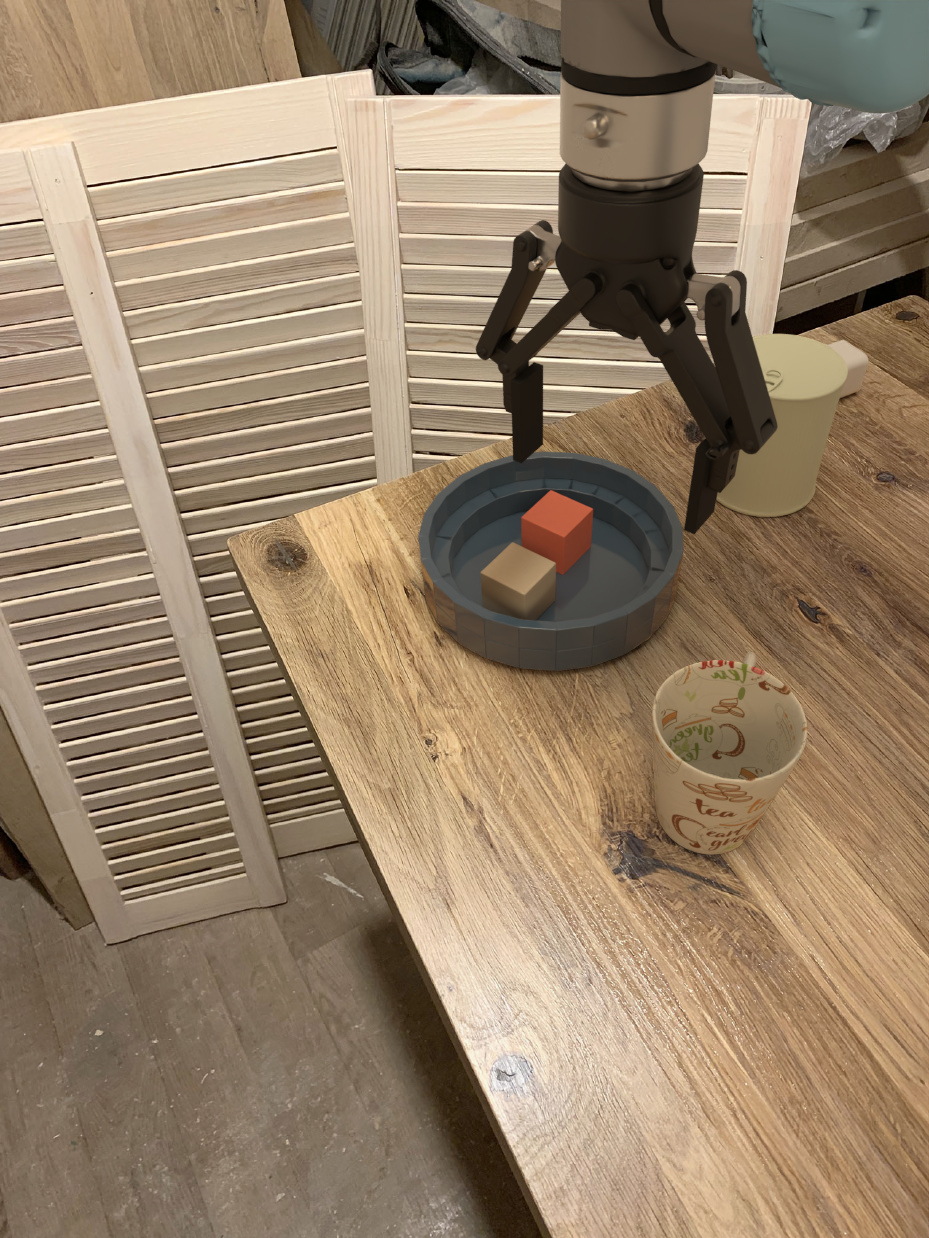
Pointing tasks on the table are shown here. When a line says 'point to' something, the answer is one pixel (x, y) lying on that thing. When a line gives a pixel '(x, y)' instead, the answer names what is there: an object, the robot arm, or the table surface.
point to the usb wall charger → (851, 366)
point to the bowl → (584, 595)
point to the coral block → (558, 529)
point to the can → (789, 427)
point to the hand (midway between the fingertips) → (609, 485)
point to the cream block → (518, 583)
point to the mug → (722, 751)
